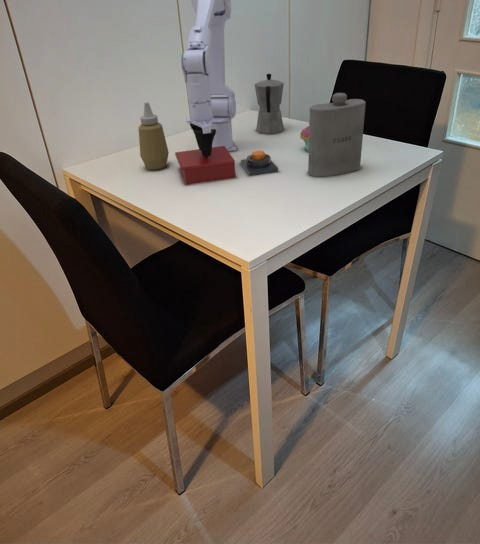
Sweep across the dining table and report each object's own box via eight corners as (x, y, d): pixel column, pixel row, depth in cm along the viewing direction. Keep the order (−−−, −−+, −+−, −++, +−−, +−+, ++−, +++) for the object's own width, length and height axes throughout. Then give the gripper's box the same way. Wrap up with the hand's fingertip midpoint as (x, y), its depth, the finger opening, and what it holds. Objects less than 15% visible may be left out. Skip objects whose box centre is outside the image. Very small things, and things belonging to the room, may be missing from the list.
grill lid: (181, 170, 125) (179, 154, 123) (175, 155, 135) (173, 140, 133) (234, 163, 128) (233, 147, 125) (224, 148, 138) (223, 133, 136)
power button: (250, 157, 135) (250, 151, 134) (263, 155, 135) (262, 149, 134) (253, 161, 132) (253, 155, 131) (266, 160, 132) (266, 153, 132)
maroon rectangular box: (186, 185, 128) (184, 170, 125) (180, 168, 138) (178, 154, 136) (235, 177, 130) (234, 163, 128) (225, 162, 140) (224, 148, 138)
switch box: (240, 163, 138) (240, 153, 137) (267, 159, 140) (267, 149, 138) (249, 176, 130) (249, 165, 129) (277, 172, 132) (277, 161, 130)
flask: (314, 179, 126) (317, 100, 115) (305, 172, 130) (306, 95, 120) (365, 169, 129) (372, 92, 119) (354, 162, 134) (360, 87, 123)
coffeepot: (257, 124, 170) (255, 70, 160) (284, 123, 168) (284, 68, 159) (254, 138, 157) (252, 80, 147) (283, 138, 156) (283, 79, 146)
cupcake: (330, 153, 141) (332, 112, 135) (301, 155, 142) (301, 113, 135) (326, 144, 148) (328, 104, 142) (298, 145, 149) (299, 105, 142)
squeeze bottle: (165, 172, 136) (155, 106, 126) (138, 171, 138) (126, 106, 128) (174, 161, 143) (165, 99, 133) (148, 161, 144) (138, 99, 135)
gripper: (180, 96, 128) (186, 146, 136) (188, 109, 117) (194, 163, 124) (206, 93, 130) (211, 142, 137) (217, 106, 118) (221, 159, 125)
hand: (204, 152), depth 131 cm, fingers closed on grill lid, 5 cm apart
